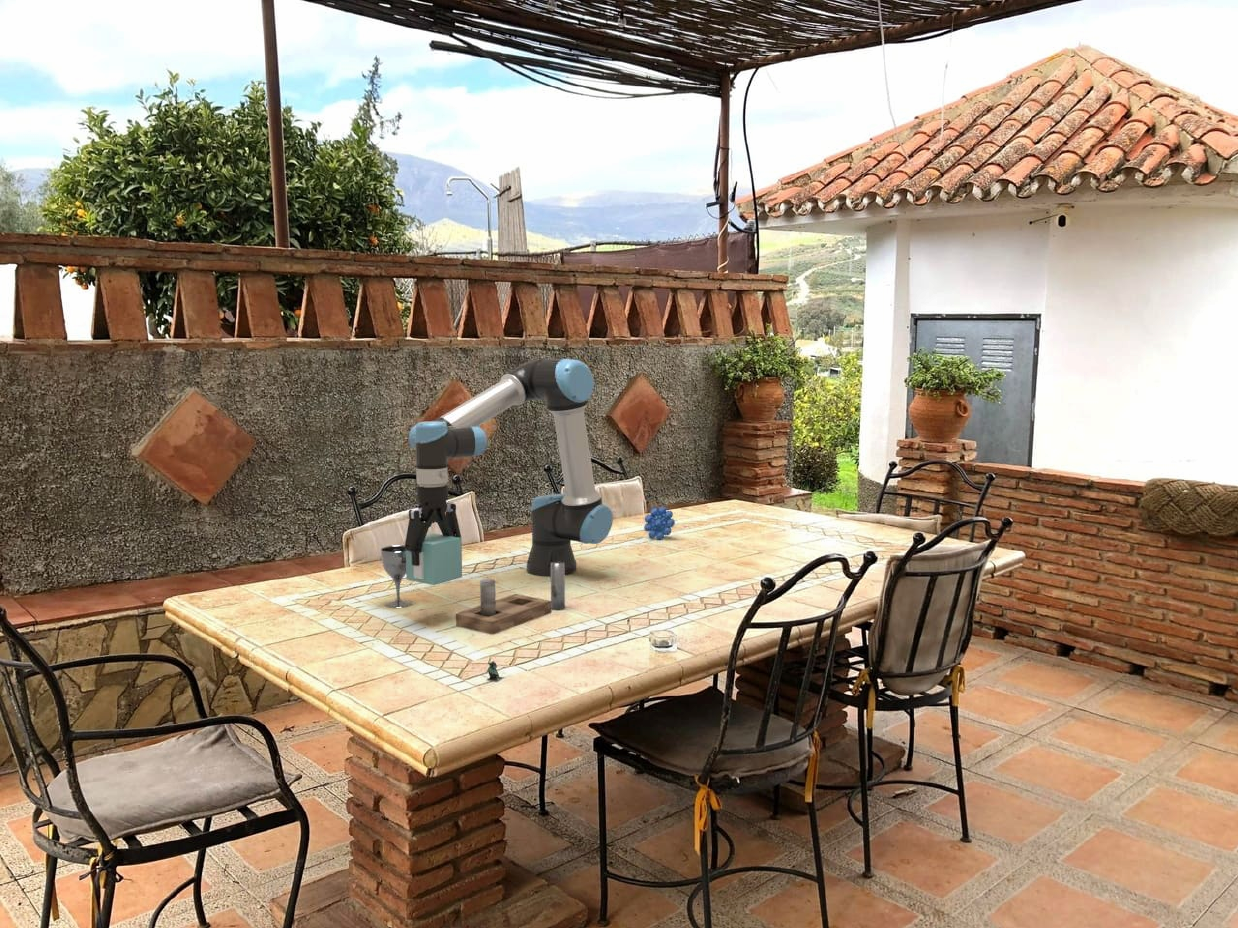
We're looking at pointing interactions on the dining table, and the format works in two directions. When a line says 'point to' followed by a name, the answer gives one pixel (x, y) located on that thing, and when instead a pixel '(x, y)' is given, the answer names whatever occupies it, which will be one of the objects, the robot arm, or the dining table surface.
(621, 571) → the dining table surface
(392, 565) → the wine glass
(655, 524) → the grapes
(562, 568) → the pin
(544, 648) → the dining table surface
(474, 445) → the robot arm
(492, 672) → the sculpture
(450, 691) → the dining table surface
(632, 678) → the dining table surface
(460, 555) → the teal cube block
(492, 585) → the board
